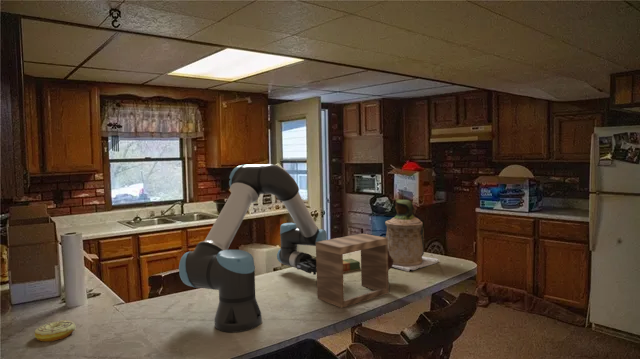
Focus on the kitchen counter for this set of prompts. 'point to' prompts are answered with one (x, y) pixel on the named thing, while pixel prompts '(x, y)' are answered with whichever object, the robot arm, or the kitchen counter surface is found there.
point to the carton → (350, 265)
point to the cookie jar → (407, 238)
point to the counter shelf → (332, 267)
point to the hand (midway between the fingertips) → (334, 270)
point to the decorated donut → (54, 330)
